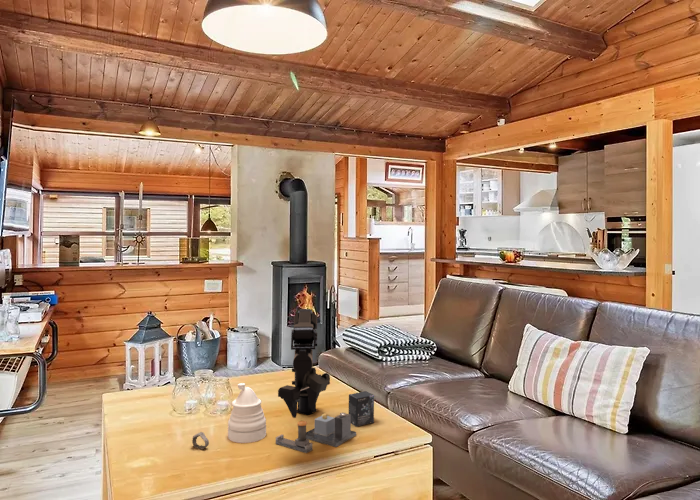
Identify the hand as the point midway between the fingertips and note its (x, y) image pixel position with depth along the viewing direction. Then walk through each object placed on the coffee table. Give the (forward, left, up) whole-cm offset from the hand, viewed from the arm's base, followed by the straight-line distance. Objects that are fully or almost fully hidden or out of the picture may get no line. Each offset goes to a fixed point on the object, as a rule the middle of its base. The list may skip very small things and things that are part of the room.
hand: (303, 413), depth 165 cm
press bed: (+1, +13, -12) cm, 17 cm away
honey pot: (-23, -2, -12) cm, 26 cm away
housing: (-1, +13, -10) cm, 17 cm away
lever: (0, 0, -10) cm, 10 cm away
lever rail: (-4, 0, -12) cm, 12 cm away
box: (+3, +30, -12) cm, 32 cm away
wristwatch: (-28, -18, -12) cm, 35 cm away
